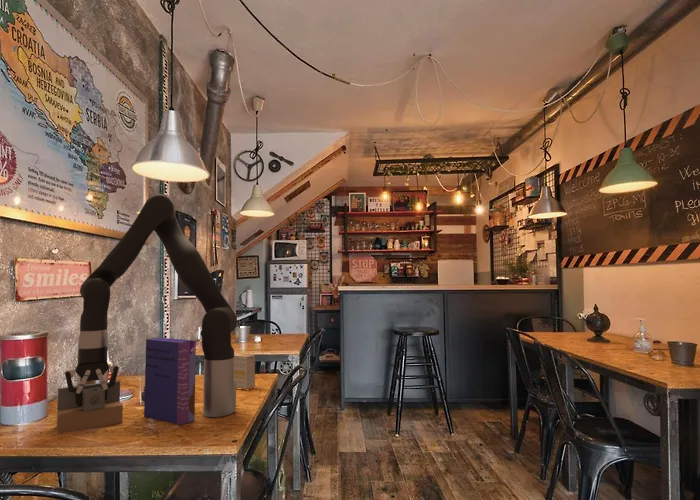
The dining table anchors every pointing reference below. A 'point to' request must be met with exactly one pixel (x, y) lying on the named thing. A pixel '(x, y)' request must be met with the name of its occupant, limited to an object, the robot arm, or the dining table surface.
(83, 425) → the board
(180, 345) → the cereal box
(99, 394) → the dice cube
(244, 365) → the supplement box
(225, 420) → the dining table surface
